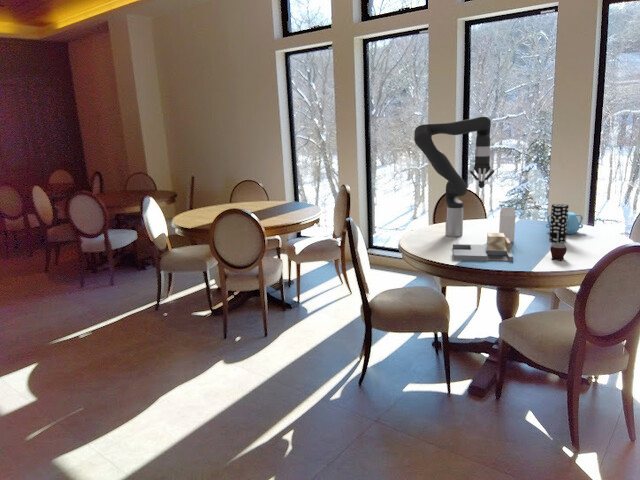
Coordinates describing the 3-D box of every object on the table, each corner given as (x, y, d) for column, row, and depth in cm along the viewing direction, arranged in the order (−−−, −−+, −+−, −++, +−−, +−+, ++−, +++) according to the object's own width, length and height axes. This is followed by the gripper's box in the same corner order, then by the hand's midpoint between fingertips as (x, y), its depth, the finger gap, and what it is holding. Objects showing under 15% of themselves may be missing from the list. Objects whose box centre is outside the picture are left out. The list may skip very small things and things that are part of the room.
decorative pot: (562, 228, 305) (563, 206, 301) (585, 233, 290) (587, 210, 287) (542, 231, 298) (543, 209, 295) (565, 237, 284) (566, 213, 281)
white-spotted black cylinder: (546, 239, 280) (548, 204, 275) (560, 238, 281) (563, 203, 276) (554, 243, 272) (556, 207, 267) (568, 242, 273) (571, 206, 268)
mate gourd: (560, 256, 247) (562, 227, 243) (569, 261, 239) (572, 230, 236) (546, 257, 246) (548, 228, 243) (555, 262, 239) (557, 231, 235)
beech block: (488, 249, 256) (488, 236, 254) (486, 245, 263) (487, 232, 262) (504, 250, 254) (505, 236, 252) (502, 246, 261) (503, 233, 260)
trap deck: (453, 260, 249) (453, 247, 248) (452, 248, 270) (453, 236, 268) (512, 261, 242) (513, 248, 241) (507, 249, 263) (508, 237, 262)
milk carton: (514, 241, 278) (515, 208, 273) (500, 241, 279) (502, 208, 275) (511, 238, 285) (513, 206, 280) (498, 238, 286) (500, 206, 282)
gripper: (469, 156, 259) (468, 189, 263) (496, 155, 256) (495, 188, 260) (469, 154, 266) (468, 187, 270) (495, 154, 263) (493, 186, 267)
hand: (481, 187), depth 265 cm, fingers closed
